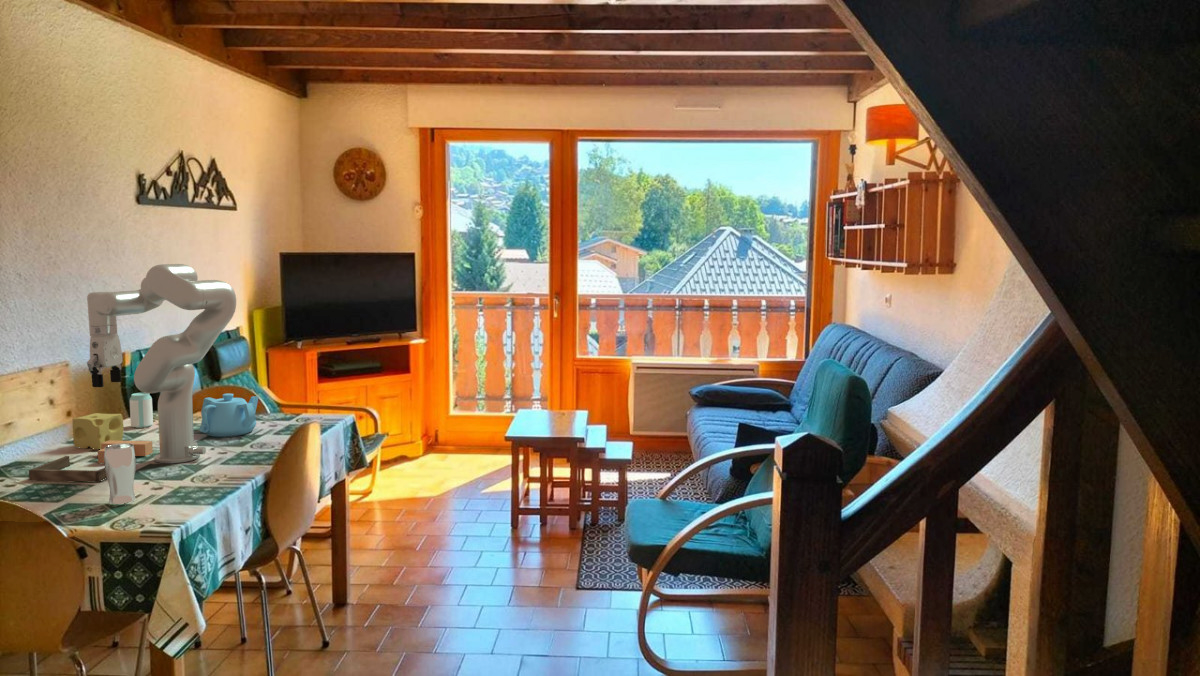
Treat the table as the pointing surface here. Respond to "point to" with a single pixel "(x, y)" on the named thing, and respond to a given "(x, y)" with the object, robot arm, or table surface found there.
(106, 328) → the robot arm
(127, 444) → the beer glass
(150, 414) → the can
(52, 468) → the brown wooden rack
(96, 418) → the cheese
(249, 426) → the teapot
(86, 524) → the table surface
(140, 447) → the t block
